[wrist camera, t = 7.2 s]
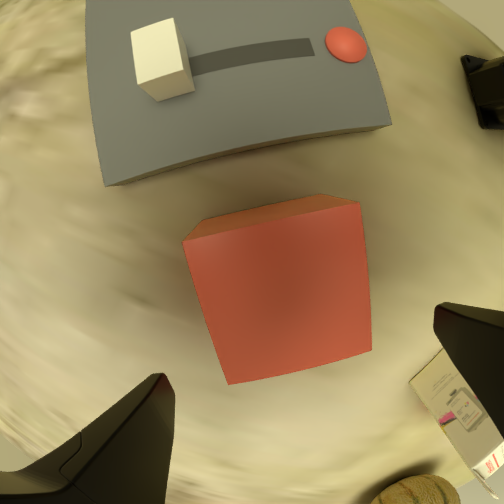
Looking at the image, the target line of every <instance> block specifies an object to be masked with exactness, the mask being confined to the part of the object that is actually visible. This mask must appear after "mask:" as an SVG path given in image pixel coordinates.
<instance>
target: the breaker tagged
mask: <svg viewBox="0 0 504 504" xmlns="http://www.w3.org/2000/svg"><path fill="white" fill-rule="evenodd" d="M131 41H132V49H133V57H134V64H135V71H136V78H137V84H138V85H139V86H140V87H141V88H142V89H143V90H144V91H146V92H147V93H148V94H149V95H150V96H151V97H153V98H154V99H155V100H156V101H157V102H159V101H162V100H165V99H169V98H172V97H175V96H178V95H182V94H185V93H189V92H192V91H195V88H194V83H193V79H192V74H191V69H190V64H189V60H188V55H187V50H186V45H185V43H184V40H183V38H182V36H181V34H180V31H179V29H178V27H177V25H176V23H175V20H174V18H170V19H166V20H163V21H160V22H157V23H154V24H151V25H148V26H145V27H143V28H140V29H137V30H135V31H132V32H131Z"/></svg>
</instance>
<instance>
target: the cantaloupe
mask: <svg viewBox="0 0 504 504" xmlns="http://www.w3.org/2000/svg"><path fill="white" fill-rule="evenodd" d="M370 504H460V498H459V495H458V493H457V491H456V490H455V488H454V487H453V486H452V485H451V484H450V483H449V482H448V481H447V480H445V479H444V478H442V477H439V476H435V475H430V474H422V475H416V476H411V477H407V478H405V479H402V480H399V481H398V482H396V483H395V484H392V485H391V486H389V487H387V488H386V489H385V490H383V491H382V492H381V493H380V494H379V495H377V496H376V497H375V498H374V499H373V501H372V502H371V503H370Z"/></svg>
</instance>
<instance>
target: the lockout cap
mask: <svg viewBox="0 0 504 504" xmlns="http://www.w3.org/2000/svg"><path fill="white" fill-rule="evenodd" d="M182 245H183V248H184V252H185V255H186V259H187V262H188V266H189V269H190V273H191V276H192V279H193V283H194V286H195V289H196V292H197V296H198V299H199V302H200V305H201V308H202V311H203V314H204V317H205V321H206V324H207V327H208V330H209V333H210V335H211V338H212V341H213V344H214V347H215V350H216V353H217V356H218V359H219V361H220V364H221V367H222V370H223V372H224V375H225V378H226V380H227V383H228V385H231V384H237V383H243V382H249V381H254V380H259V379H264V378H269V377H274V376H279V375H283V374H288V373H292V372H297V371H301V370H305V369H309V368H313V367H317V366H321V365H324V364H328V363H332V362H335V361H339V360H342V359H346V358H349V357H352V356H355V355H359V354H362V353H365V352H368V351H371V350H372V332H371V307H370V291H369V278H368V266H367V256H366V247H365V239H364V231H363V223H362V216H361V209H360V203H359V202H355V201H351V200H346V199H342V198H337V197H333V196H328V195H323V194H318V195H313V196H308V197H303V198H298V199H293V200H289V201H284V202H279V203H275V204H270V205H266V206H261V207H257V208H252V209H248V210H243V211H239V212H235V213H230V214H226V215H222V216H218V217H214V218H210V219H205V220H202V221H201V222H200V223H199V224H198V225H197V226H196V227H195V228H194V230H193V231H192V232H191V233H190V234H189V235H188V236H187V237H186V238H185V239H184V240H183V241H182Z"/></svg>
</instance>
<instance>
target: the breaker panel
mask: <svg viewBox="0 0 504 504" xmlns="http://www.w3.org/2000/svg"><path fill="white" fill-rule="evenodd" d="M170 18H174V20H175V23H176V25H177V27H178V29H179V31H180V34H181V36H182V38H183V40H184V43H185V45H186V50H187V55H188V60H189V64H190V69H191V74H192V79H193V83H194V88H195V91H192V92H189V93H185V94H182V95H178V96H175V97H172V98H169V99H165V100H162V101H159V102H157V101H156V100H155V99H154V98H153V97H151V96H150V95H149V94H148V93H147V92H146V91H144V90H143V89H142V88H141V87H140V86H139V85H138V84H137V78H136V71H135V64H134V57H133V49H132V41H131V32H132V31H135V30H137V29H140V28H143V27H145V26H148V25H151V24H154V23H157V22H160V21H163V20H166V19H170ZM85 36H86V62H87V76H88V87H89V97H90V106H91V113H92V121H93V127H94V134H95V140H96V146H97V151H98V157H99V162H100V167H101V172H102V176H103V181H104V186H105V187H108V186H119V185H125V184H127V183H130V182H133V181H136V180H140V179H143V178H146V177H149V176H152V175H155V174H159V173H162V172H165V171H169V170H172V169H175V168H179V167H182V166H186V165H190V164H193V163H197V162H201V161H205V160H209V159H213V158H217V157H221V156H225V155H229V154H233V153H238V152H242V151H247V150H251V149H256V148H261V147H266V146H271V145H276V144H281V143H287V142H292V141H298V140H304V139H310V138H317V137H323V136H330V135H338V134H345V133H354V132H363V131H372V130H376V129H379V128H383V127H386V126H389V125H392V122H391V118H390V114H389V110H388V106H387V102H386V99H385V95H384V92H383V88H382V85H381V82H380V78H379V75H378V72H377V69H376V66H375V63H374V60H373V57H372V55H371V52H370V49H369V46H368V44H367V41H366V38H365V36H364V33H363V31H362V28H361V26H360V24H359V21H358V19H357V17H356V14H355V12H354V10H353V8H352V6H351V3H350V1H349V0H86V14H85Z"/></svg>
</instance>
